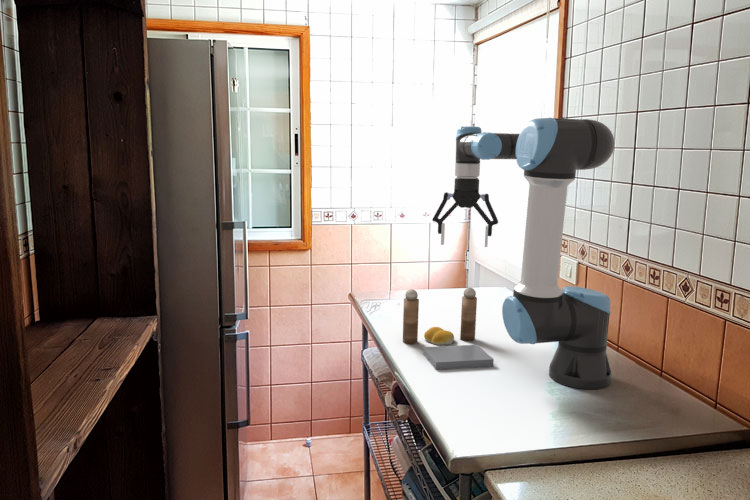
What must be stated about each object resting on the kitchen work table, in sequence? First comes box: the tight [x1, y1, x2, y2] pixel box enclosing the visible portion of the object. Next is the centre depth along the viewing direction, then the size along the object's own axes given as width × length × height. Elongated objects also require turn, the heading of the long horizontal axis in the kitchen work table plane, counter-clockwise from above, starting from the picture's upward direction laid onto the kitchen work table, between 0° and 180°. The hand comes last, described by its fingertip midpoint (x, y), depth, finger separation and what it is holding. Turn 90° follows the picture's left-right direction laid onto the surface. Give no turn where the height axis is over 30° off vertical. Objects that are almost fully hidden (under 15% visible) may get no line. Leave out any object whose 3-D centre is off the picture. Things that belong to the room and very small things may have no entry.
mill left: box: [402, 288, 420, 345], centre depth 183 cm, size 4×4×16 cm
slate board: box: [422, 344, 494, 371], centre depth 170 cm, size 12×16×2 cm
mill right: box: [459, 287, 478, 342], centre depth 186 cm, size 4×4×16 cm
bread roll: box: [423, 326, 455, 346], centre depth 186 cm, size 8×9×4 cm
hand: (464, 245), depth 195 cm, fingers open, 13 cm apart
